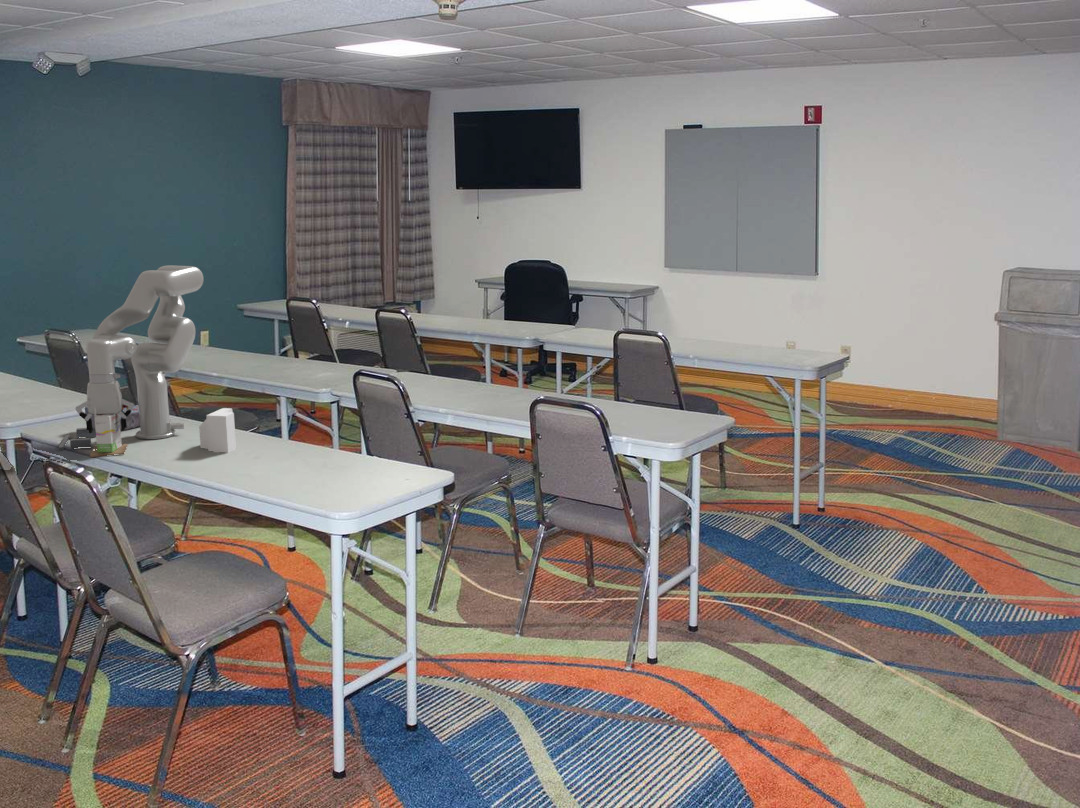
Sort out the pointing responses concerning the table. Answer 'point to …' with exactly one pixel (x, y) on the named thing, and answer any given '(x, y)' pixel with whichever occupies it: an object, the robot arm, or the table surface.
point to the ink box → (107, 432)
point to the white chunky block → (218, 431)
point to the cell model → (131, 419)
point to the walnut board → (117, 451)
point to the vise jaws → (79, 442)
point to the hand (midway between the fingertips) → (107, 431)
